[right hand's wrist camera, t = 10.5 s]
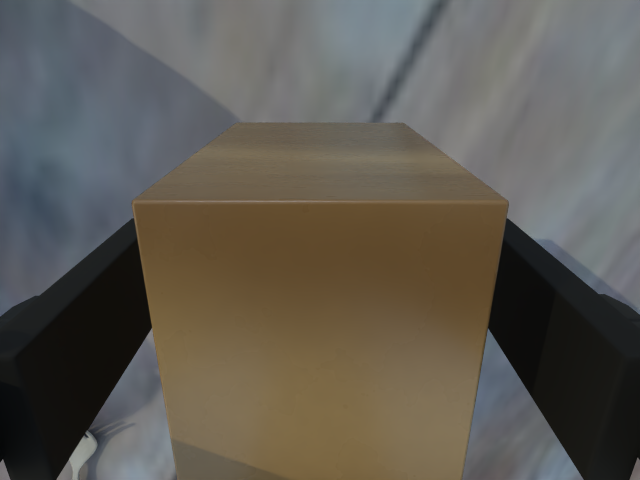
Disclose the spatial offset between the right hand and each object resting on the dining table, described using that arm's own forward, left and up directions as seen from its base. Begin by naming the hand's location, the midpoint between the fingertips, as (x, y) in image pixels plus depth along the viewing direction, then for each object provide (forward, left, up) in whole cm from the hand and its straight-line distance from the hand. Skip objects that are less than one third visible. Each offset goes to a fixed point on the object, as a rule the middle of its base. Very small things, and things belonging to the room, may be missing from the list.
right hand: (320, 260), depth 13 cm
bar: (0, +7, -1) cm, 8 cm away
